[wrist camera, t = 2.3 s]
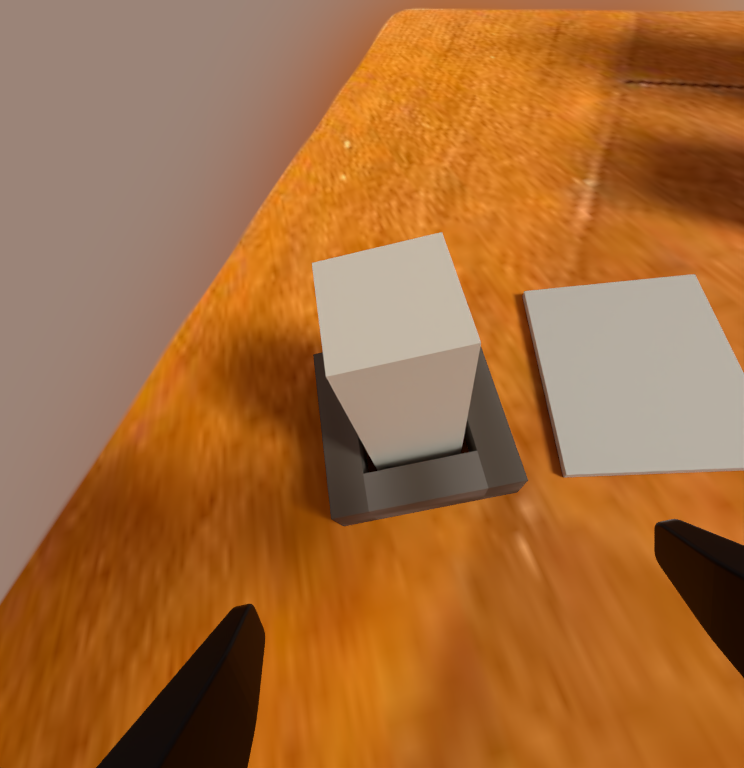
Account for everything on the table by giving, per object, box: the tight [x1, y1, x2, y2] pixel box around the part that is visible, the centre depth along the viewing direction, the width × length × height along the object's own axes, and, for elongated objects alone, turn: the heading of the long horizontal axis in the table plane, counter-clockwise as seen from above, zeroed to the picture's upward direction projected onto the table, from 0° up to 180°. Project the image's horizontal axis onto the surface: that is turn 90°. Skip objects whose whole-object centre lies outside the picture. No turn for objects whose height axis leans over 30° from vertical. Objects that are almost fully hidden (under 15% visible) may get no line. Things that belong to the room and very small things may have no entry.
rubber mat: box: [523, 274, 744, 477], centre depth 24 cm, size 11×13×1 cm
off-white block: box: [312, 232, 481, 471], centre depth 19 cm, size 5×5×13 cm
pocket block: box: [313, 346, 528, 526], centre depth 24 cm, size 10×10×3 cm
